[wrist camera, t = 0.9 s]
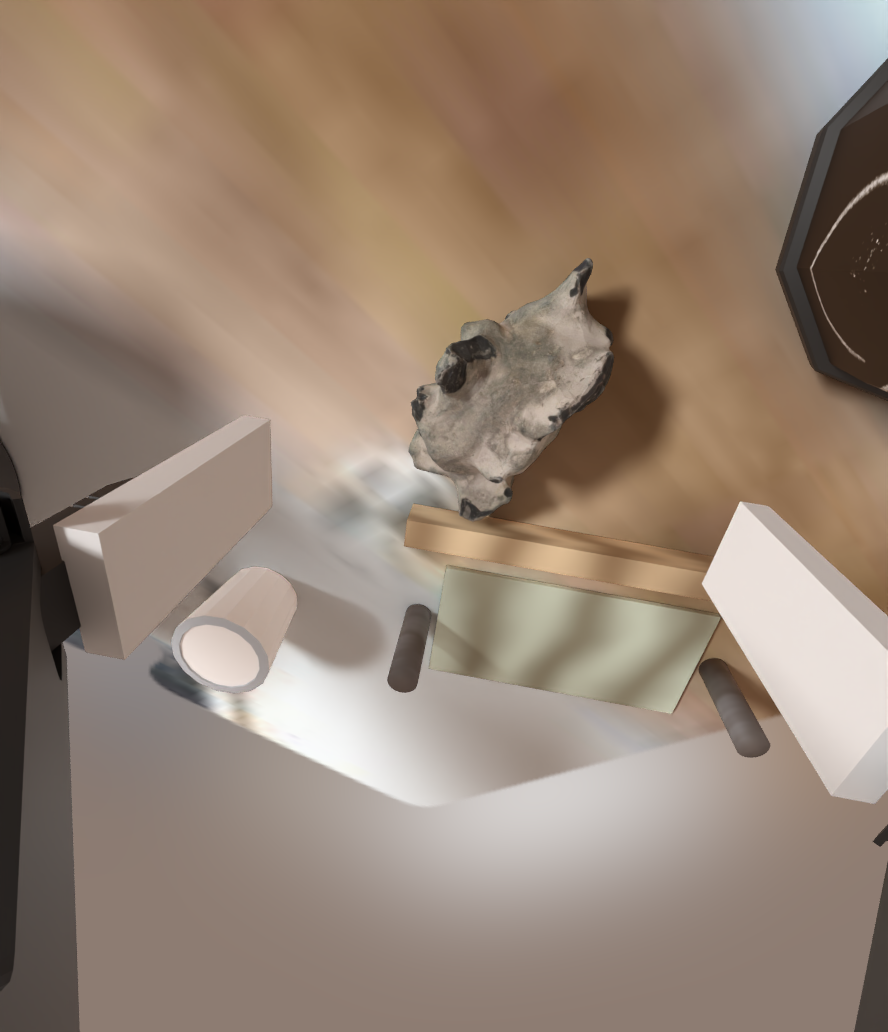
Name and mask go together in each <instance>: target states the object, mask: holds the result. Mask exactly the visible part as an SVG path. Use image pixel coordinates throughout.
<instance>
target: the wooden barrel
mask: <svg viewBox="0 0 888 1032" xmlns="http://www.w3.org/2000/svg"><path fill="white" fill-rule="evenodd" d="M775 270H776V273H777V275H778V278H779V281H780V284H781V286H782V289H783V292H784V295H785V297H786V300H787V303H788V306H789V308H790V311H791V314H792V317H793V319H794V322H795V325H796V327H797V330H798V333H799V336H800V338H801V341H802V344H803V347H804V349H805V352H806V355H807V358H808V360H809V363H810V365H811V366H812V367H813V369H814V370H815V371H817V372H820V373H822V374H824V375H827V376H829V377H832V378H834V379H836V380H839V381H841V382H844V383H846V384H848V385H851V386H853V387H855V388H858V389H860V390H863V391H865V392H867V393H870V394H872V395H875V396H877V397H879V398H882V399H884V400H886V401H888V59H887V60H886V61H885V62H884V63H883V64H882V65H881V66H880V67H879V68H878V69H877V70H876V72H875V73H874V74H873V75H872V76H871V77H870V78H869V79H868V80H867V81H866V82H865V83H864V84H863V85H862V87H861V88H860V89H859V90H858V91H857V92H856V93H855V94H854V95H853V96H852V97H851V98H850V99H849V100H848V102H847V103H846V104H845V105H844V106H843V107H842V108H841V109H840V110H839V111H838V112H837V113H836V114H835V115H834V117H833V118H832V119H831V120H830V121H829V122H828V123H827V124H826V125H825V126H824V127H823V128H822V129H821V130H820V132H819V133H818V134H817V135H816V139H815V142H814V145H813V148H812V152H811V155H810V158H809V161H808V165H807V168H806V171H805V175H804V178H803V181H802V184H801V188H800V191H799V194H798V197H797V201H796V204H795V207H794V211H793V214H792V217H791V220H790V224H789V227H788V230H787V233H786V237H785V240H784V243H783V247H782V250H781V253H780V256H779V260H778V263H777V266H776V269H775Z"/></svg>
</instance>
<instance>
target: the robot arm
mask: <svg viewBox="0 0 888 1032" xmlns="http://www.w3.org/2000/svg"><path fill="white" fill-rule="evenodd" d="M271 507H272V476H271V429H270V419H264V418H259V417H253V416H247V415H243V416H241V417H239V418H238V419H236V420H234V421H232V422H231V423H229V424H227V425H225V426H224V427H222V428H220V429H219V430H217V431H215V432H213V433H212V434H210V435H208V436H206V437H205V438H203V439H201V440H200V441H198V442H196V443H194V444H193V445H191V446H189V447H187V448H186V449H184V450H182V451H180V452H179V453H177V454H175V455H174V456H172V457H170V458H168V459H167V460H165V461H163V462H161V463H160V464H158V465H156V466H155V467H153V468H151V469H149V470H148V471H146V472H144V473H142V474H141V475H139V476H137V477H136V478H131V479H127V480H124V481H121V482H117V483H114V484H110V485H107V486H105V487H104V488H102V489H100V490H98V491H97V492H95V493H93V494H91V495H89V498H84V499H82V500H80V501H79V502H77V503H75V504H73V507H68V508H66V509H64V510H62V511H61V512H59V513H57V514H55V515H53V516H52V517H50V518H48V519H46V520H44V521H43V522H41V523H39V524H37V525H35V526H34V527H32V528H30V525H29V521H28V518H27V514H26V511H25V507H24V503H23V500H22V497H21V495H20V488H19V483H18V479H17V475H16V472H15V470H14V467H13V464H12V462H11V460H10V458H9V456H8V454H7V452H6V450H5V448H4V447H3V445H2V443H1V442H0V1032H80V1031H79V1002H78V972H77V943H76V915H75V887H74V886H75V885H74V856H73V828H72V798H71V769H70V740H69V711H68V682H67V656H66V652H65V649H64V645H63V641H65V640H66V639H67V638H68V637H69V636H70V635H72V634H73V633H74V632H75V631H76V630H77V629H80V632H81V636H82V640H83V644H84V648H85V652H87V653H92V654H97V655H102V656H107V657H113V658H118V659H123V660H125V659H126V658H127V657H128V656H129V655H130V654H131V653H132V652H133V651H134V650H135V649H136V648H137V647H138V645H140V643H142V641H143V640H144V639H145V638H146V637H147V636H148V635H149V634H150V633H151V632H152V631H153V630H154V629H155V628H156V627H157V626H158V625H159V624H160V623H161V622H162V621H163V620H164V619H165V618H166V616H167V615H168V614H169V613H170V612H171V611H172V610H173V609H174V608H175V607H176V606H177V605H178V604H179V603H180V602H181V601H182V600H183V599H184V598H185V597H186V596H187V595H188V594H189V593H190V592H191V590H192V589H193V588H194V587H195V586H196V585H197V584H198V583H199V582H200V581H201V580H202V579H203V578H204V577H205V576H206V575H207V574H208V573H209V572H210V571H211V570H212V569H213V568H214V567H215V565H216V564H217V563H218V562H219V561H220V560H221V559H222V558H223V557H224V556H225V555H226V554H227V553H228V552H229V551H230V550H231V549H232V548H233V547H234V546H235V545H236V544H237V543H238V542H239V541H240V539H241V538H242V537H243V536H244V535H245V534H246V533H247V532H248V531H249V530H250V529H251V528H252V527H253V526H254V525H255V524H256V523H257V522H258V521H259V520H260V519H261V518H262V517H263V516H264V515H265V513H266V512H267V511H268V510H269V509H270V508H271ZM702 585H703V587H704V588H705V590H706V592H707V593H708V595H709V597H710V598H711V600H712V601H713V603H714V605H715V606H716V608H717V610H718V611H719V613H720V615H721V616H722V618H723V619H724V621H725V623H726V624H727V626H728V628H729V629H730V631H731V633H732V634H733V636H734V637H735V639H736V641H737V642H738V644H739V646H740V647H741V649H742V651H743V652H744V654H745V655H746V657H747V659H748V660H749V662H750V664H751V665H752V667H753V668H754V670H755V672H756V673H757V675H758V677H759V678H760V680H761V682H762V683H763V685H764V686H765V688H766V690H767V691H768V693H769V695H770V696H771V698H772V700H773V701H774V703H775V704H776V706H777V708H778V709H779V711H780V713H781V714H782V716H783V718H784V719H785V721H786V722H787V724H788V726H789V727H790V729H791V731H792V732H793V734H794V736H795V737H796V739H797V740H798V742H799V744H800V745H801V747H802V749H803V750H804V752H805V754H806V755H807V757H808V758H809V760H810V762H811V763H812V765H813V767H814V768H815V770H816V772H817V773H818V775H819V776H820V778H821V780H822V781H823V783H824V785H825V786H826V788H827V789H828V791H829V793H830V794H831V796H835V797H841V798H846V799H851V800H856V801H861V802H867V803H872V804H875V803H876V802H877V801H878V800H879V799H880V797H881V796H882V795H883V794H884V793H885V792H886V791H887V790H888V616H887V615H886V614H885V613H884V612H883V611H882V610H880V609H879V608H878V607H877V606H876V605H875V604H874V603H873V602H872V601H871V600H870V599H869V598H868V597H866V596H865V595H864V594H863V593H862V592H861V591H860V590H859V589H858V588H857V587H856V586H855V585H853V584H852V583H851V582H850V581H849V580H848V579H847V578H846V577H845V576H844V575H843V574H842V573H840V572H839V571H838V570H837V569H836V568H835V567H834V566H833V565H832V564H831V563H830V562H829V561H827V560H826V559H825V558H824V557H823V556H822V555H821V554H820V553H819V552H818V551H817V550H816V549H814V548H813V547H812V546H811V545H810V544H809V543H808V542H807V541H806V540H805V539H804V538H803V537H801V536H800V535H799V534H798V533H797V532H796V531H795V530H794V529H793V528H792V527H791V526H790V525H788V524H787V523H786V522H785V521H784V520H783V519H782V518H781V517H780V516H779V515H778V514H777V513H775V512H774V511H773V510H772V509H771V508H770V507H769V506H764V505H759V504H753V503H747V502H741V501H740V503H739V505H738V507H737V510H736V512H735V514H734V516H733V518H732V520H731V522H730V524H729V527H728V529H727V531H726V533H725V535H724V537H723V539H722V542H721V544H720V546H719V548H718V550H717V552H716V554H715V556H714V559H713V561H712V563H711V565H710V567H709V569H708V571H707V574H706V576H705V578H704V580H703V582H702ZM885 841H888V825H887V826H886V827H885V828H884V829H883V830H882V831H881V832H880V834H879V835H878V836H877V837H876V838H875V840H874V841H873V842H874V843H876V844H877V845H878V846H882V844H884V842H885ZM854 1032H888V863H887V869H886V874H885V879H884V884H883V889H882V894H881V899H880V904H879V909H878V914H877V919H876V924H875V929H874V934H873V940H872V945H871V949H870V954H869V960H868V965H867V970H866V975H865V980H864V985H863V990H862V995H861V1000H860V1005H859V1010H858V1015H857V1020H856V1025H855V1030H854Z"/></svg>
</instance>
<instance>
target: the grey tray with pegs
mask: <svg viewBox="0 0 888 1032" xmlns="http://www.w3.org/2000/svg"><path fill="white" fill-rule="evenodd" d="M404 546H406V547H411V548H417V549H423V550H428V551H434V552H439V553H445V554H451V555H456V556H462V557H467V558H473V559H479V560H484V561H490V562H495V563H501V564H506V565H512V566H518V567H523V568H529V569H534V570H540V571H546V572H551V573H557V574H562V575H568V576H574V577H579V578H585V579H590V580H596V581H602V582H607V583H613V584H618V585H624V586H629V587H635V588H641V589H646V590H652V591H657V592H663V593H669V594H674V595H680V596H685V597H691V598H697V599H702V600H708V601H712V600H711V598H710V597H709V595H708V593H707V592H706V590H705V588H704V587H703V585H702V582H703V580H704V578H705V576H706V574H707V571H708V569H709V567H710V565H711V563H712V561H713V559H714V557H713V556H708V555H702V554H696V553H691V552H685V551H679V550H674V549H668V548H662V547H657V546H651V545H645V544H640V543H634V542H628V541H623V540H617V539H611V538H606V537H600V536H594V535H589V534H583V533H577V532H572V531H566V530H560V529H555V528H549V527H543V526H538V525H532V524H526V523H521V522H515V521H509V520H503V519H498V518H492V517H485V518H483V519H482V520H478V521H474V522H471V521H470V520H467V519H465V518H463V517H461V516H460V515H459V512H458V511H452V510H447V509H441V508H435V507H430V506H424V505H418V504H413V506H412V509H411V511H410V514H409V517H408V519H407V526H406V534H405V542H404ZM720 618H721V617H720V615H719V614H717V613H711V612H706V611H700V610H694V609H689V608H683V607H678V606H672V605H667V604H661V603H655V602H650V601H644V600H639V599H633V598H628V597H622V596H616V595H611V594H605V593H600V592H594V591H589V590H583V589H578V588H572V587H566V586H561V585H555V584H550V583H544V582H539V581H533V580H527V579H522V578H516V577H511V576H505V575H500V574H494V573H488V572H483V571H477V570H472V569H466V568H461V567H455V566H449V565H446V571H445V577H444V583H443V588H442V594H441V600H440V606H439V612H438V617H437V623H436V629H435V635H434V641H433V646H432V652H431V658H430V664H429V669H433V670H438V671H444V672H449V673H454V674H460V675H465V676H470V677H476V678H481V679H487V680H492V681H497V682H503V683H508V684H513V685H519V686H524V687H530V688H535V689H540V690H546V691H551V692H556V693H562V694H567V695H573V696H578V697H583V698H589V699H594V700H599V701H605V702H610V703H616V704H621V705H626V706H632V707H637V708H643V709H648V710H653V711H659V712H664V713H669V714H672V712H673V711H674V709H675V707H676V705H677V703H678V701H679V699H680V697H681V695H682V693H683V691H684V689H685V687H686V685H687V683H688V681H689V679H690V677H691V675H692V673H693V671H694V669H695V667H696V665H697V663H698V662H699V660H700V658H701V656H702V654H703V652H704V650H705V648H706V646H707V644H708V642H709V640H710V638H711V636H712V634H713V632H714V630H715V628H716V626H717V624H718V622H719V620H720ZM430 620H431V612H430V610H429V609H428V608H427V607H425V606H423V605H420V604H415V605H411V606H410V607H408V609H407V611H406V614H405V617H404V621H403V625H402V628H401V632H400V635H399V639H398V642H397V646H396V650H395V653H394V657H393V660H392V664H391V668H390V671H389V675H388V679H387V680H388V684H389V685H390V687H391V688H393V689H394V690H396V691H398V692H404V693H406V692H411V691H413V690H414V689H415V688H416V687H417V684H418V679H419V674H420V669H421V664H422V659H423V654H424V649H425V644H426V640H427V635H428V630H429V625H430ZM699 673H700V675H701V677H702V679H703V681H704V683H705V685H706V687H707V689H708V692H709V694H710V696H711V698H712V700H713V702H714V704H715V706H716V708H717V710H718V712H719V715H720V717H721V719H722V721H723V723H724V725H725V727H726V729H727V731H728V733H729V735H730V738H731V739H732V742H733V744H734V745H735V748H736V750H737V752H738V753H739V754H740V755H742V756H744V757H758V756H761V755H763V754H765V753H766V752H767V751H768V750H769V748H770V743H769V741H768V739H767V737H766V736H765V734H764V732H763V730H762V728H761V726H760V725H759V723H758V721H757V719H756V717H755V716H754V714H753V712H752V710H751V708H750V707H749V705H748V703H747V701H746V699H745V698H744V696H743V694H742V692H741V690H740V689H739V687H738V685H737V683H736V681H735V679H734V678H733V676H732V674H731V672H730V670H729V669H728V667H727V665H726V663H725V662H724V661H723V660H720V659H715V658H714V659H708V660H706V661H704V662H703V663H701V665H700V666H699Z"/></svg>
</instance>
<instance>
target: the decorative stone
mask: <svg viewBox="0 0 888 1032" xmlns="http://www.w3.org/2000/svg"><path fill="white" fill-rule="evenodd" d="M592 269H593V262H592V260H591V259H590V258H587V259H585V260H584V261H583V262H582V264H580V265H579V266H578V267H576V268H575V269H574V270H573V271H572V272H571V274H570V275H569V276H568V277H567V278H566V280H565V281H564V282H563V283H562V284H561V285H560V286H559V287H558V288H557V289H556V290H555V291H553V292H551V293H550V294H548V295H547V296H545V297H544V298H542V299H540V300H537V301H534V302H531V303H528V304H526V305H524V306H523V307H521V308H520V309H518V310H517V311H511V312H510V313H509V314H508V315H507V316H506V318H505V320H504V321H503V322H501V323H500V324H498V323H496V322H495V321H492V320H488V319H486V320H481V321H475V322H467V323H465V324H464V325H463V326H462V327H461V341H459V342H456V343H452V344H450V345H449V346H448V347H447V348H446V351H445V353H444V355H443V356H442V358H441V359H440V360H439V362H438V364H437V366H436V374H435V380H436V383H433V384H429V385H423V386H420V387H419V388H418V389H417V398H416V399H415V400H413V401H412V402H411V406H412V415H413V417H414V419H415V421H416V424H417V426H418V429H417V431H416V433H415V435H414V437H413V439H412V442H411V444H410V447H409V453H410V455H411V456H412V458H413V462H414V466H415V467H416V468H417V469H420V470H423V471H428V472H432V473H436V474H441V475H445V476H447V477H450V478H451V479H452V480H453V481H454V483H455V486H456V488H457V493H458V503H459V515H460V516H461V517H463V518H465V519H467V520H470V521H471V522H474V521H478V520H482V519H483V518H485V517H486V516H487V515H490V514H491V513H493V512H494V511H495V510H496V509H497V508H499V507H500V506H501V505H503V504H507V503H509V502H510V501H511V499H512V494H513V491H512V489H511V487H512V483H513V480H514V475H516V474H520V473H523V472H524V471H525V470H526V469H527V468H528V467H529V466H530V465H531V464H532V463H533V462H534V461H535V460H536V459H537V458H538V456H539V455H540V454H541V452H542V451H543V450H544V449H545V448H546V447H547V445H548V444H549V443H551V442H552V441H553V440H554V439H555V437H556V436H557V435H558V433H559V431H560V429H561V425H562V424H563V423H564V422H565V420H567V419H568V418H569V417H571V416H572V415H573V414H574V413H577V412H579V411H581V410H583V409H584V408H585V407H586V405H588V404H590V403H591V402H593V401H595V400H596V399H597V398H598V397H599V396H600V395H601V393H602V392H603V391H604V389H605V386H606V384H607V383H608V380H609V378H610V375H611V371H612V367H613V362H614V356H613V352H611V351H610V350H609V347H610V346H611V345H612V343H613V334H612V332H611V331H610V330H609V329H608V328H606V327H605V326H603V325H601V324H600V323H598V322H597V321H596V320H595V319H594V318H593V317H592V316H591V314H590V313H589V310H588V307H587V287H586V283H587V281H588V279H589V277H590V275H591V272H592Z"/></svg>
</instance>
